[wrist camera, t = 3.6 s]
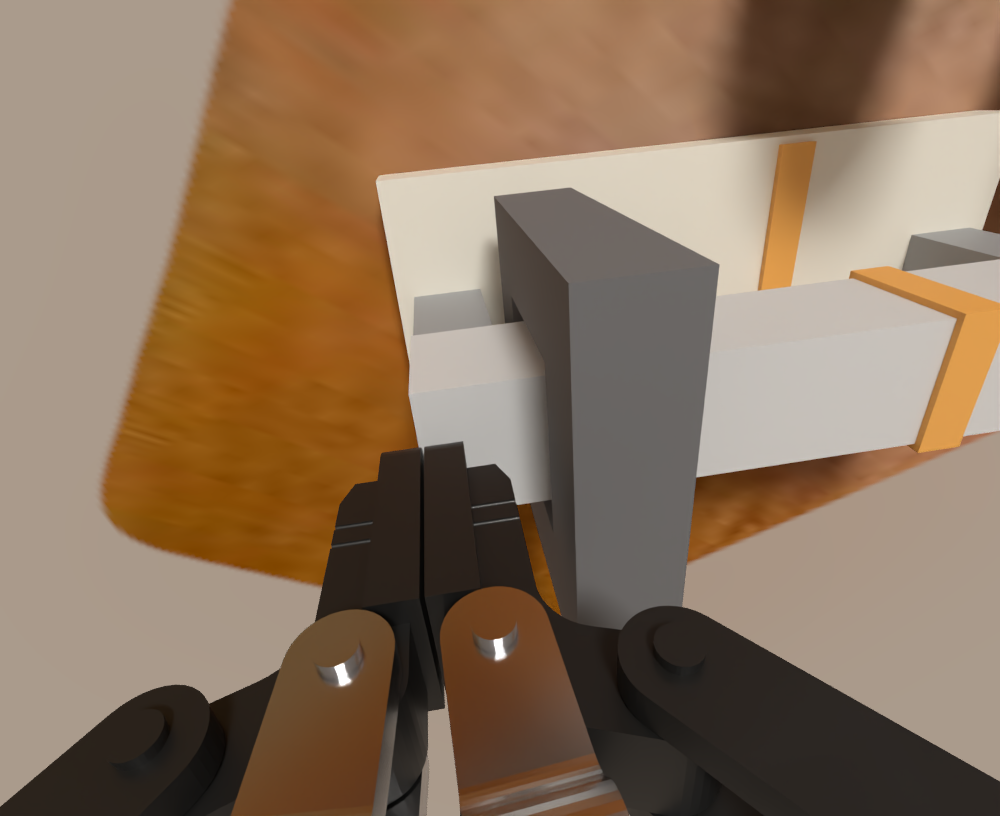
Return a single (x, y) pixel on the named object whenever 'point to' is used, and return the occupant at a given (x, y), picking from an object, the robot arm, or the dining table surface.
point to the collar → (611, 394)
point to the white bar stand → (735, 290)
